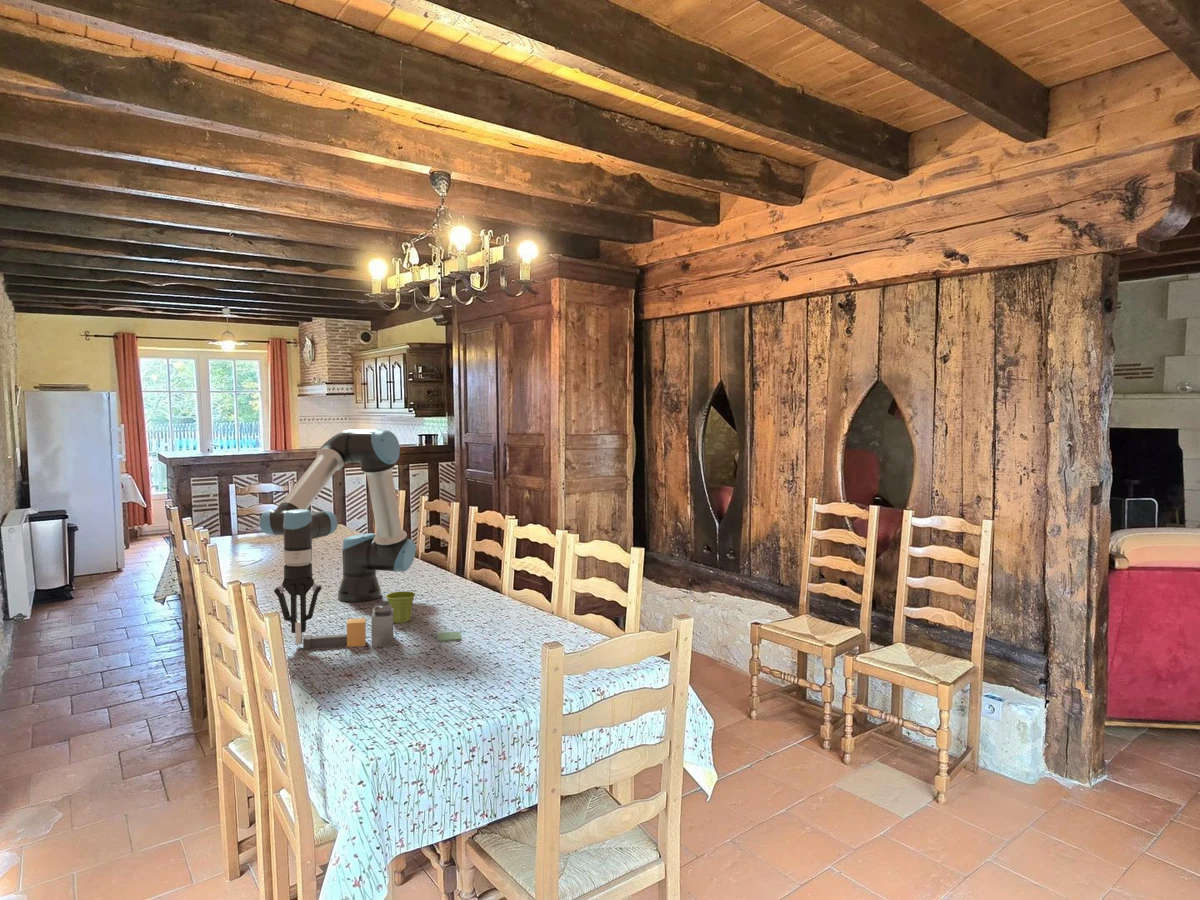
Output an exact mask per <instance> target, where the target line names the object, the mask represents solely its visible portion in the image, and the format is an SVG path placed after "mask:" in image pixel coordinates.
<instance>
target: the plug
mask: <svg viewBox="0 0 1200 900" xmlns="http://www.w3.org/2000/svg"><path fill="white" fill-rule="evenodd" d="M366 621H367V618H366V617H362V618H359V617H358V618H349V619H347V622H346V633H345V634H344V633H341V634H332V635H331V634H328V635H315V636H313V634H305V635H304V637H303V638H302V645H303V647H302V649H303V650H304V651H305V650H307V651H308V650H312V649H318V648H319V649H320V648H331V647H332V648H333V647H335V648H336V647H345V646H346V647H347V648H350V647H351V648H353V647H366V641H367V637H366V636H367V635H366V634H367V629H366V628H367V627H366V626H367V624H366Z"/></svg>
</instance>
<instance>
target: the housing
mask: <svg viewBox="0 0 1200 900" xmlns="http://www.w3.org/2000/svg"><path fill="white" fill-rule="evenodd" d="M393 646H394V622H393V608H391V604H389V603H379V604H375V605H374V606H373V608H372V614H371V648H385V647H393Z"/></svg>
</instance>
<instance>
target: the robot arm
mask: <svg viewBox="0 0 1200 900" xmlns="http://www.w3.org/2000/svg"><path fill="white" fill-rule="evenodd" d="M400 452H401V447H400V442H399V439H398V437H397V436H396V434H394V433H393V432H392V431H391V430H385V429H382V428H381V429H379V428H378V429H377V428H376V429H369V428H368V429H363V428H362V429H360V428H359V429H356V428H349V429H346V430H342V431H340V432H338V433H336V434H335V435H333V436H332V437H330V438H329V439H328V440H327V441H325V442H324V443H323V444H322V445H321V446H320V448H319V449H318V450H317V452H316V458H315V459H314V460H313V462H312V463H311V464H310V466H308V468H307V469H306V471H305V472H304V473H303V474H302V476H301V477H300V478H299V479H298V481H297V482H296V483H295V485H294V486H293V487H292V488H291V489H290V491H289V492H288V493H287V495H286V496H285V497H284V499H283V500H282V501H281V502H280V503H279V505H278V506H277V507H276V509H268V510H267V509H266V510H265V511H263V513H261V515H260V518H259V524H258V525H259V528H260V529H261V532H263V533H264V534H266V535H271V536H283V563H284V565H283V581H282V583H281V585H280V586H277V587H275V589H274V590H273V592H274V594H275V596H277V598H278V602H279V606H280V610H281V612H282V615H283V619H284V621H286V622H287V621H288V622H290V625H291V629H290V630H291V633H292V634H294V635H295V639H294V640H295V646H301V645H302V644H303V633H306V630H307V621H309V620H312V617H313V615H314V612H315V607H316V603H317V600H318V595H319V593H320V592H321V590H322V587H323V586H322V585H321V584H317V583H316V582H315V580H314V579H313V564H312V563H311V562H312V561H313V548H312V547H313V544H312V542H313V540H315V539H318V538H322V537H327V536H329V535H331V534H333V533H334V532H336V530H337V528H338V522H339V521H338V518H337V516H336V515H335V514H334V513H333V512H332V511H329V510H320V511H316V512H315V511H311V510H309V509H308V508H309V507H310V506H311V505H312V503H313V502H314V501H315V499H316V498H317V497H318V495H319V494H320V493H321V491H323V489H324V487H325V486H326V485H327V484H328V482H329V480H331V478H332V477H333V475H334V474H335V473H336V471H340V470H341V469H342V468H343V467H344V465H346V464H350V463H354V464H355V463H356V464H358V463H359V466H360V471H361V472H362V473H364V474H365V475H366V478H367V484H368V490H369V495H370V502H371V506H372V512H373V517H374V522H375V529H376V533H377V534H376V533H372V532H371V533H370V532H369V533H361V534H355V535H351V536H350V535H349V536H347V537H345V538H344V539H343V541H342V579H341V581H340V582H341V583H340V585H339V588H338V591H337V599H338V600H340V601H343V602H348V603H349V602H352V603H355V602H367V601H372V600H376V599H378V598H380V597H382V596H381V595H382V589H381V586H380V583H379V580H378V577H377V571H382V572H383V571H384V572H394V573H397V572H400V573H401V572H402V573H403V572H406V571H408V570H409V569H410V568H411V567H412V565H413V562H414V559H415V557H416V548H417V547H416V543H415V542H414V540H412V539H409V538H408V534H407V532H406V531H405V530H403V529H402V523H401V517H400V511H399V507H398V506H399V505H398V500H397V495H396V487H395V481H394V475H393V469H394V468H395V467H396V463H397V462H398V461H399V458H400ZM311 588H312V592H313V593H312V597H311V602H310V604H309V609H308V611H307V594H308V593H309V591H310V590H311ZM285 591H286V592H287V594H289V596H290V610H289V607H288V603H287V601H286V597H285V593H284V592H285ZM297 596H299V601H300V619H298V616H297V615H298V614H297V613H298V612H297V610H298V608H297V602H298V600H297V598H298V597H297ZM307 612H308V613H307Z"/></svg>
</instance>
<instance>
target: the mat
mask: <svg viewBox="0 0 1200 900" xmlns="http://www.w3.org/2000/svg"><path fill="white" fill-rule="evenodd" d="M436 637H437V642H438V643H440V642H441V643H442V642H453V641H462V635H461V631H451V632H450V631H449V632H437V633H436Z"/></svg>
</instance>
